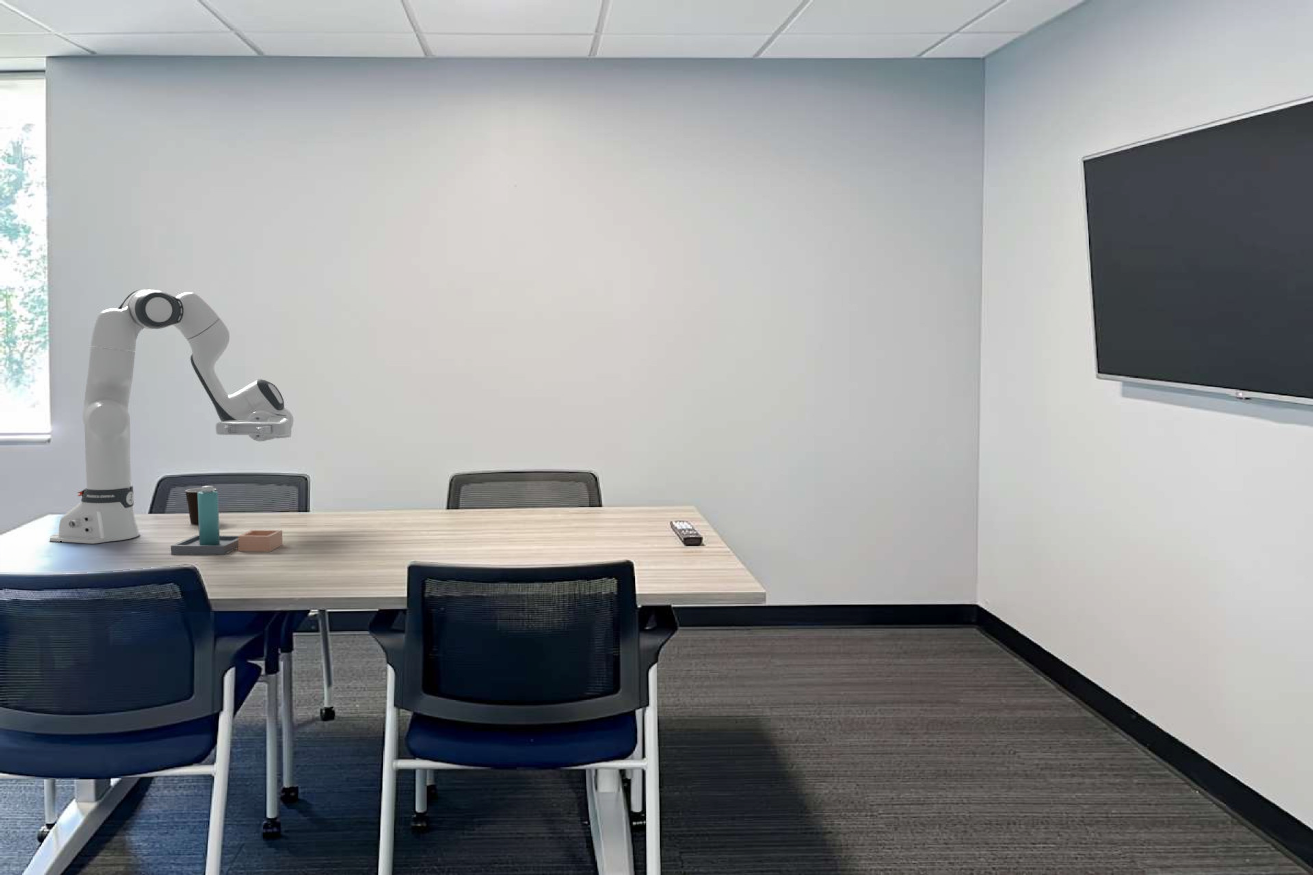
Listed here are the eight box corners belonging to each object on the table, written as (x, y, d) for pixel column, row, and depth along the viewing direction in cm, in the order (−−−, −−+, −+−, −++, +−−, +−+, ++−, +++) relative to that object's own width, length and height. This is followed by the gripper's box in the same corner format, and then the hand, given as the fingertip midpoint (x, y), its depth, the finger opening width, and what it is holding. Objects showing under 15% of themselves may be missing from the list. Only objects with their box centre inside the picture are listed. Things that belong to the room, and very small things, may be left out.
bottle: (196, 546, 280) (193, 487, 278) (204, 542, 285) (202, 485, 283) (214, 546, 280) (212, 488, 278) (223, 542, 285) (220, 485, 283)
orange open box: (238, 550, 280) (237, 536, 279) (251, 544, 288) (251, 529, 288) (270, 551, 280) (269, 536, 279) (282, 544, 288) (282, 530, 288)
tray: (171, 553, 276) (170, 545, 275) (196, 542, 290) (196, 535, 289) (223, 554, 275) (223, 546, 275) (246, 543, 289) (246, 535, 289)
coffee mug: (206, 525, 314) (205, 492, 313) (180, 524, 316) (179, 491, 315) (229, 518, 326) (228, 486, 325) (204, 517, 327) (203, 485, 326)
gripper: (227, 415, 311) (205, 419, 297) (295, 415, 310) (277, 419, 296) (227, 436, 312) (206, 441, 298) (296, 437, 311) (277, 442, 297)
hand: (242, 430), depth 297 cm, fingers open, 8 cm apart
